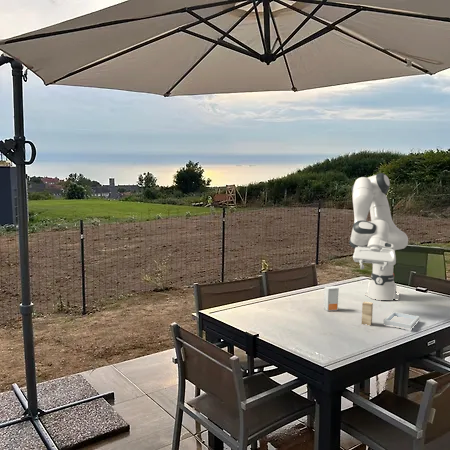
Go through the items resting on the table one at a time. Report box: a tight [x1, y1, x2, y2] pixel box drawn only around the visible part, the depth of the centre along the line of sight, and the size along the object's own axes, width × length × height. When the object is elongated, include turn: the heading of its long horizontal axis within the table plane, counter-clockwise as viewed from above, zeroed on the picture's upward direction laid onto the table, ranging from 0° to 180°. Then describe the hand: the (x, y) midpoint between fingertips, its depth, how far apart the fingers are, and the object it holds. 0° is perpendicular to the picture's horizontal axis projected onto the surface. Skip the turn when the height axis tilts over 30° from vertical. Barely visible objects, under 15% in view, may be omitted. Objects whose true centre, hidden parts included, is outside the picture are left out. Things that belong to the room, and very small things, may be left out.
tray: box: [383, 311, 420, 329], centre depth 196 cm, size 16×12×3 cm
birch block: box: [361, 301, 374, 326], centre depth 196 cm, size 4×4×10 cm
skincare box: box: [323, 285, 339, 312], centre depth 217 cm, size 6×4×12 cm
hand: (371, 269), depth 205 cm, fingers open, 8 cm apart
